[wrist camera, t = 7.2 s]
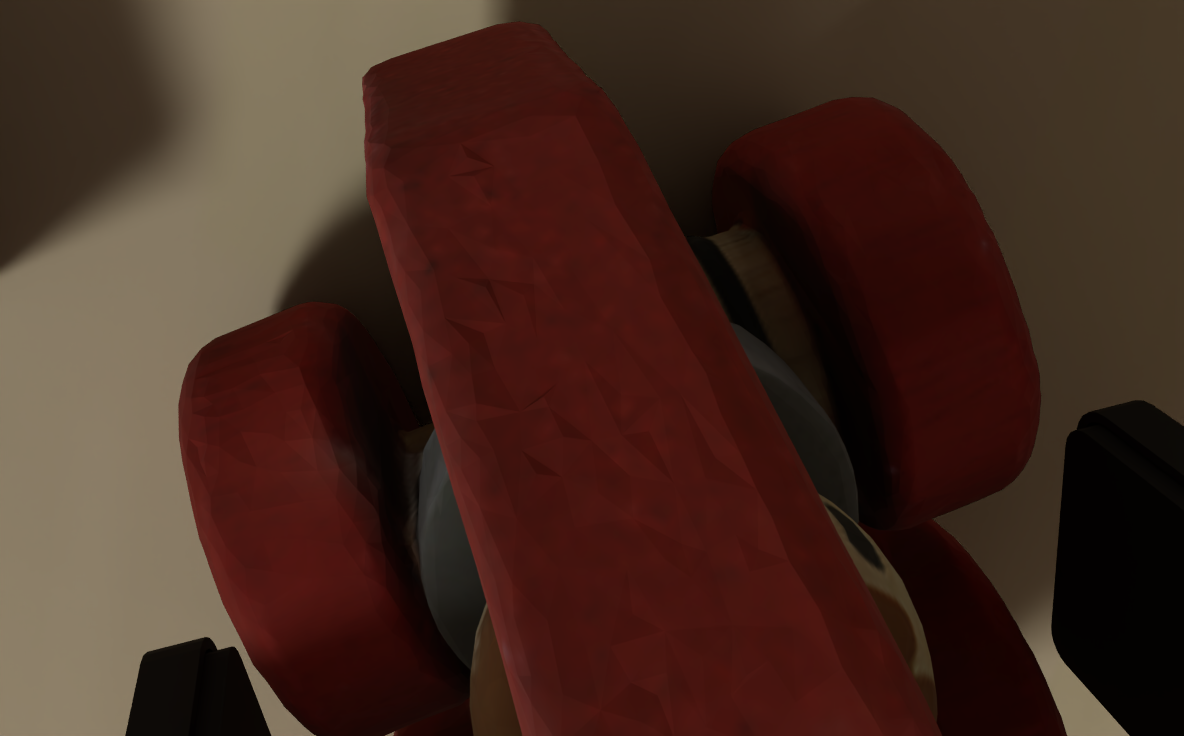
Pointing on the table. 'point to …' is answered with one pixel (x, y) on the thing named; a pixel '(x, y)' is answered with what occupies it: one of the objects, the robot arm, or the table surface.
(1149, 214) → the table surface
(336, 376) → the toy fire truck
